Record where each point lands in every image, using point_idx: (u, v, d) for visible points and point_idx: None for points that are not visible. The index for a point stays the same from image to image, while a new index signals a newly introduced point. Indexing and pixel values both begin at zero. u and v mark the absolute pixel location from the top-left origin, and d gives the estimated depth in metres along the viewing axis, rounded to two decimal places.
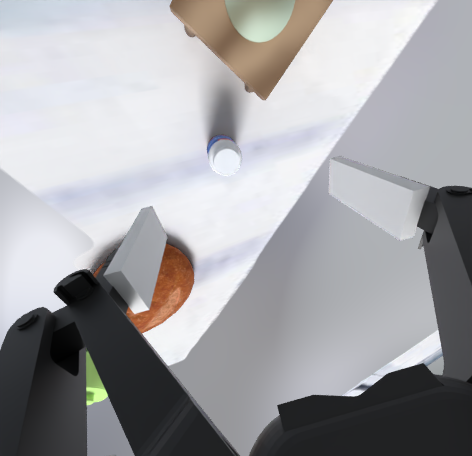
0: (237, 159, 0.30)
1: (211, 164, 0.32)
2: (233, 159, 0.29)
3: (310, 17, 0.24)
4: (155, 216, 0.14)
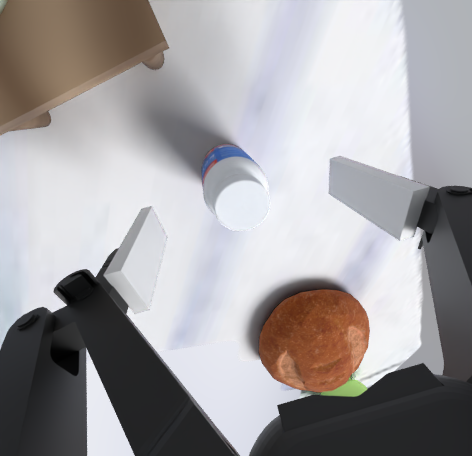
0: (250, 186, 0.13)
1: None
2: (245, 193, 0.13)
3: None
4: (155, 216, 0.14)
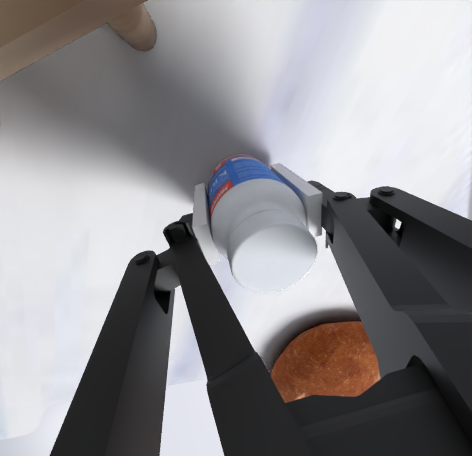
0: (289, 232, 0.08)
1: None
2: (280, 242, 0.08)
3: None
4: (206, 192, 0.16)
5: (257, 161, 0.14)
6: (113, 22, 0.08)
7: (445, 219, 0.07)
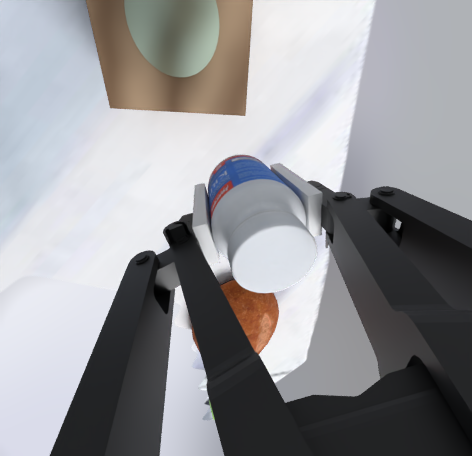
0: (289, 232, 0.08)
1: None
2: (280, 243, 0.08)
3: None
4: (206, 192, 0.16)
5: (257, 161, 0.14)
6: None
7: (445, 219, 0.07)
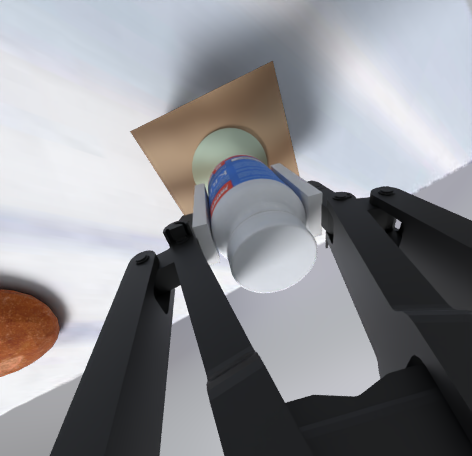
0: (289, 232, 0.08)
1: None
2: (280, 243, 0.08)
3: None
4: (206, 192, 0.16)
5: (257, 161, 0.14)
6: None
7: (445, 219, 0.07)
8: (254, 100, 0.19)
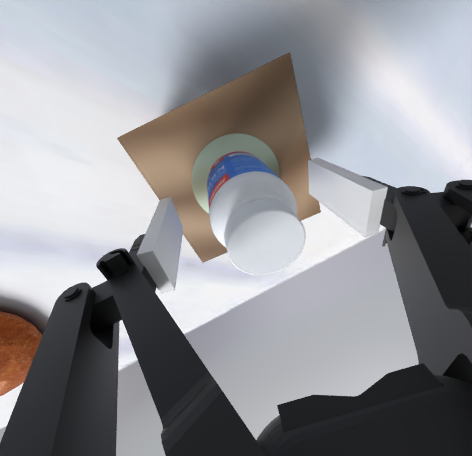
0: (279, 217, 0.09)
1: None
2: (271, 227, 0.09)
3: None
4: (173, 206, 0.15)
5: (253, 157, 0.15)
6: None
7: None
8: (266, 100, 0.15)
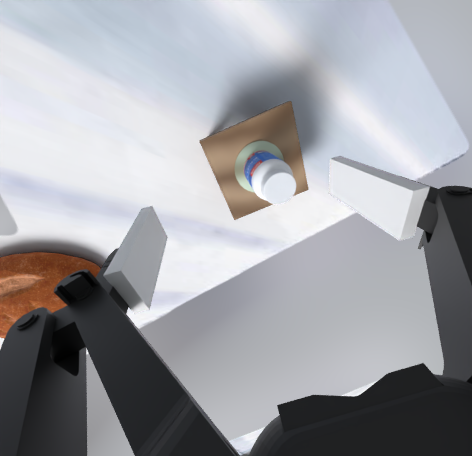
0: (285, 176, 0.23)
1: None
2: (282, 180, 0.23)
3: None
4: (155, 216, 0.14)
5: (271, 153, 0.28)
6: None
7: None
8: (278, 124, 0.29)
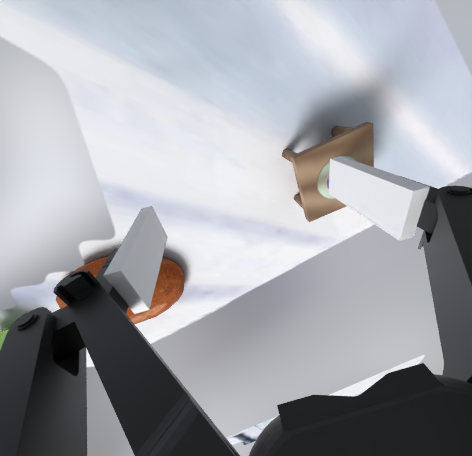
0: None
1: None
2: None
3: None
4: (155, 216, 0.14)
5: None
6: (302, 205, 0.44)
7: None
8: (359, 141, 0.35)
